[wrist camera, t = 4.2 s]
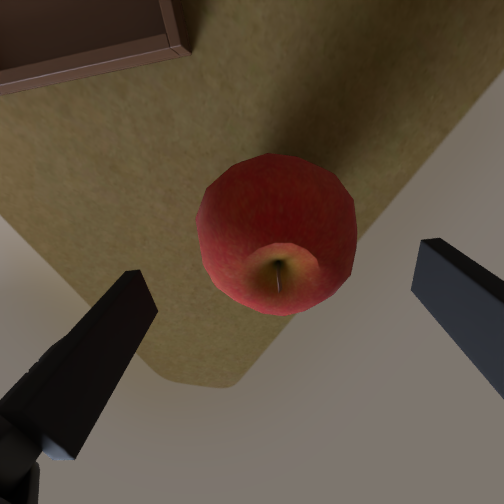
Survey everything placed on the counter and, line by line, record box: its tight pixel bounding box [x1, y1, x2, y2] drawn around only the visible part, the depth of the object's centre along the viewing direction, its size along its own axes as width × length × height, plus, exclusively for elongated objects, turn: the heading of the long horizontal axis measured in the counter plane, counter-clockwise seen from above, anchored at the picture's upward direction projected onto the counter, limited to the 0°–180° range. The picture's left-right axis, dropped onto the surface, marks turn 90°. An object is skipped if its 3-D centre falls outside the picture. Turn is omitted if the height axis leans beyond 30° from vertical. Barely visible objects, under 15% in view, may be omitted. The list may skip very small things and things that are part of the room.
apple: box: [195, 153, 357, 316], centre depth 17 cm, size 10×10×14 cm
